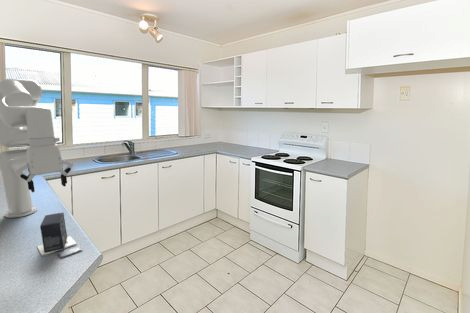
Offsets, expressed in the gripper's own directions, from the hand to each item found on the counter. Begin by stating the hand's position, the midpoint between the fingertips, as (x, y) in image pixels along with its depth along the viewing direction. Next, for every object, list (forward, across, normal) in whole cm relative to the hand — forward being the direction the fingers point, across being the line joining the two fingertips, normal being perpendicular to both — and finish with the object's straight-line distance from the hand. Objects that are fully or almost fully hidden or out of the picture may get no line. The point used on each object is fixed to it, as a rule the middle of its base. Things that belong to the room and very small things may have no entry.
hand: (48, 188), depth 101 cm
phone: (+23, -2, +11) cm, 25 cm away
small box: (+22, 0, +1) cm, 22 cm away
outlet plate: (+22, 0, +2) cm, 22 cm away
